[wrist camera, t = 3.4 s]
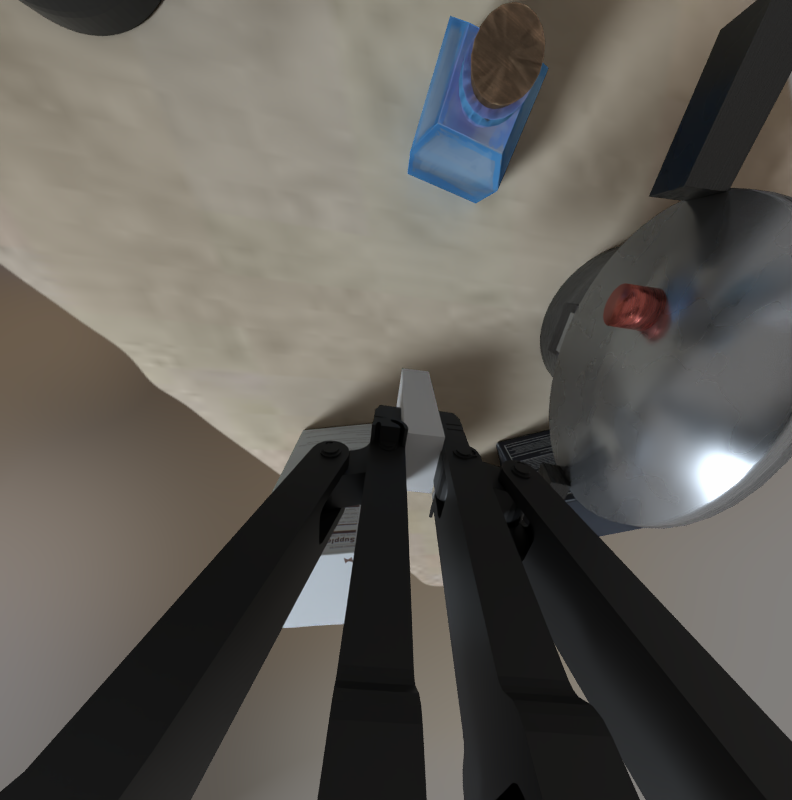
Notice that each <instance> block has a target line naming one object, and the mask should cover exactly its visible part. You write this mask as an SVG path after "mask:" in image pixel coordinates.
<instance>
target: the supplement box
mask: <svg viewBox="0 0 792 800" xmlns="http://www.w3.org/2000/svg"><path fill="white" fill-rule="evenodd" d="M371 429H372V424H362V425H352V426H342V427H332V428H321V429H311V430H303V432H302V434H301V436H300V438H299V440H298V442H297V444H296V446H295V448H294V450H293V452H292V454H291V456H290V458H289V460H288V462H287V464H286V466H285V468H284V470H283V472H282V474H281V475H280V477H279V480H278V481H277V484H276V486H275V488H274V490H275V489H276V488H277V487H278V486H279V485H280V483H281V482H282V481H283V480H284V479H285V478H286V477H287V476H288V474H289V473H290V472H291V471H292V470H293V469H294V468H295V467H296V465H297V464H298V463H299V462H300V461H301V460H302V459H303V458H304V456H305V455H306V454H307V453H308V452H309V451H310V450H311V449H312V447H313V446H315V445H316V444H318V443H320V442H323V441H338V442H341V443H343V444H345V445H346V446H347V447H348V448H349V450H357V449H361V448H364V447H365V446H367V445H368V444H369V443H370V438H371ZM274 490H273V491H274ZM273 491H272V492H273ZM360 509H361V505H355V506H350V507H345V511H344V513H343V515H342V517H341V519H340V520H339V522H338V524H337V526H336V528H335V530H334V532H333V534H332V536H331V537H330V539H329V541H328V543H327V545H326V547H325V549H324V551H323V552H322V554H321V556H320V558H319V560H318V562H317V564H316V566H315V567H314V569H313V571H312V573H311V575H310V577H309V579H308V581H307V582H306V584H305V586H304V588H303V590H302V592H301V594H300V596H299V597H298V599H297V601H296V603H295V605H294V607H293V609H292V611H291V612H290V614H289V616H288V618H287V620H286V622H285V624H284V626H283V627H282V628H289V627H304V626H316V625H333V624H344V620H345V613H346V606H347V599H348V592H349V585H350V578H351V572H352V565H353V558H354V551H355V544H356V537H357V530H358V523H359V516H360Z"/></svg>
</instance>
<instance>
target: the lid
mask: <svg viewBox="0 0 792 800" xmlns="http://www.w3.org/2000/svg"><path fill="white" fill-rule="evenodd" d="M791 71H792V0H757V1H755V2H754V3H753V4H752V5H750V6H749V7H748V8H747V9H746V10H744V11H743V12H742V13H741V14H739V15H738V16H737V17H736V18H735V19H733V20H732V21H731V22H730V23H728V24H727V25H726V26H725V27H724V28H722V29H721V30H720V32H719V35H718V37H717V39H716V42H715V44H714V46H713V49H712V51H711V53H710V56H709V58H708V60H707V63H706V65H705V67H704V70H703V72H702V74H701V77H700V79H699V81H698V84H697V86H696V88H695V91H694V93H693V95H692V98H691V100H690V102H689V105H688V107H687V109H686V112H685V114H684V116H683V118H682V121H681V123H680V125H679V128H678V130H677V132H676V135H675V137H674V139H673V142H672V144H671V146H670V149H669V151H668V153H667V156H666V158H665V160H664V163H663V165H662V167H661V170H660V172H659V174H658V177H657V179H656V181H655V184H654V186H653V188H652V191H651V193H650V195H649V196H650V197H658V198H666V199H673V200H681V202H679V203H676V204H674V205H672V206H671V207H669V208H667V209H666V210H664V211H663V212H661V213H660V214H658V215H656V216H655V217H654V218H652V219H651V220H650V221H648V222H647V223H646V224H645V225H643V226H642V227H641V228H640V229H638V230H637V231H636V232H635V233H634V234H633V235H632V236H631V237H630V238H629V239H628V240H626V242H625V243H624V244H623V245H622V246H621V247H620V248H619V249H618V250H617V251H616V252H615V253H614V255H613V256H612V257H611V258H610V259H609V261H608V262H607V263H606V264H605V266H604V267H603V268H602V270H601V271H600V272H599V274H598V275H597V277H596V278H595V279H594V281H593V282H592V284H591V286H590V287H589V289H588V290H587V292H586V293H585V295H584V297H583V299H582V301H581V302H580V304H579V306H578V308H577V310H576V312H575V313H573V312H571V313H570V315H569V318H568V321H567V323H566V326H565V328H564V331H563V334H562V336H561V339H560V341H559V344H558V346H557V349H556V350H557V351H558V352H559V355H558V358H557V362H556V366H555V370H554V375H553V380H552V386H551V393H550V404H549V429H550V439H551V446H552V450H553V455H554V459H555V462H556V465H554V464H548V463H543V462H542V463H541V465H540V468H539V470H538V473H539V474H540V475H541V476H542V477H543V478H544V479H545V480H546V481H547V482H548V483H549V485H550V486H551V487H552V488H553V489H554V490H555V491H556V492H557V493H558V494H559V495H560V496H561V497H562V498H563V499H565V498H566V496H567V494H568V492H569V491H570V492H571V493H572V494H573V496H574V497H575V498H576V499H577V500H578V501H579V502H580V503H581V504H582V505H583V506H584V507H585V508H586V509H588V510H590V511H591V512H593V513H594V514H596V515H597V516H600V517H602V518H604V519H607V520H609V521H613V522H618V523H622V524H627V525H632V526H637V527H642V528H663V529H664V528H671V527H678V526H685V525H688V524H691V523H694V522H698V521H701V520H704V519H707V518H710V517H712V516H714V515H716V514H718V513H720V512H722V511H724V510H726V509H728V508H730V507H732V506H734V505H736V504H737V503H739V502H740V501H741V500H743V499H744V498H746V497H747V496H748V495H750V494H751V493H753V492H754V491H755V490H757V489H758V488H760V487H761V486H762V485H763V484H764V483H765V482H767V481H768V480H769V479H770V478H771V477H772V476H773V475H774V474H775V473H776V472H777V471H778V470H779V469H780V468H781V467H782V466H783V465H784V464H785V463H786V462H788V460H789V459H790V458H791V456H792V197H789V196H786V195H782V194H779V193H775V192H770V191H762V190H754V189H740V188H730V187H731V185H732V183H733V181H734V180H735V178H736V176H737V174H738V172H739V170H740V168H741V166H742V164H743V162H744V161H745V159H746V157H747V155H748V153H749V151H750V149H751V147H752V145H753V144H754V142H755V140H756V138H757V136H758V134H759V132H760V130H761V128H762V126H763V125H764V123H765V121H766V119H767V117H768V115H769V113H770V111H771V109H772V107H773V106H774V104H775V102H776V100H777V98H778V96H779V94H780V92H781V90H782V89H783V87H784V85H785V83H786V81H787V79H788V77H789V75H790V73H791Z"/></svg>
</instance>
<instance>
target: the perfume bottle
mask: <svg viewBox="0 0 792 800" xmlns="http://www.w3.org/2000/svg"><path fill="white" fill-rule="evenodd" d="M544 51H545V38H544V32H543V27H542V24H541V22H540V20H539V18H538V16H537V14H536V13H535V12H534V11H533V10H532V9H530V8H529V7H528V6H527V5H525V4H521V3H517V2H512V3H507V4H503V5H501V6H500V7H498V8H497V9H495V10H494V11H492V12H491V13H490V14H489V15H488V17H487V18H486V19H485V20H484V22H483V23H482V24H481V26H480V28H478V27H476V26H475V25H473V24H471V23H469V22H466V21H463V20H460V19H457V18H455V17H452V16H450V19H449V22H448V26H447V29H446V32H445V36H444V39H443V43H442V46H441V49H440V53H439V56H438V60H437V63H436V66H435V70H434V73H433V77H432V80H431V83H430V87H429V90H428V94H427V97H426V100H425V104H424V107H423V111H422V114H421V117H420V121H419V124H418V128H417V131H416V134H415V138H414V141H413V144H412V148H411V151H410V159H409V167H408V174H410V175H412V176H414V177H417V178H419V179H421V180H423V181H426V182H428V183H430V184H433V185H435V186H437V187H440V188H442V189H444V190H446V191H449V192H451V193H453V194H456V195H458V196H460V197H462V198H465V199H467V200H469V201H472V202H474V203H477V202H479V201H481V200H482V199H484V198H486V197H487V196H489V195H491V194H493V193H494V192H496V191H497V190H498V188H499V186H500V183H501V181H502V178H503V176H504V174H505V171H506V169H507V167H508V164H509V162H510V159H511V157H512V155H513V152H514V150H515V147H516V145H517V143H518V140H519V138H520V135H521V133H522V131H523V128H524V126H525V124H526V121H527V119H528V116H529V114H530V112H531V109H532V107H533V104H534V102H535V100H536V97H537V95H538V92H539V90H540V88H541V85H542V83H543V81H544V78H545V76H546V73H547V71H548V69H549V68H548V67H547V66H546V65H545V64H544V63H543V60H544Z"/></svg>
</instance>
